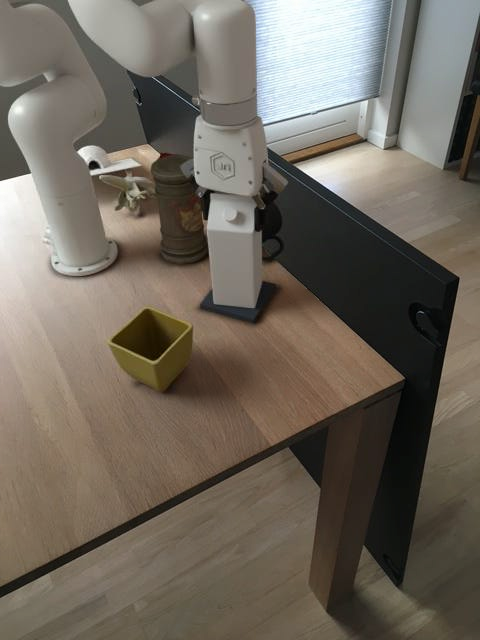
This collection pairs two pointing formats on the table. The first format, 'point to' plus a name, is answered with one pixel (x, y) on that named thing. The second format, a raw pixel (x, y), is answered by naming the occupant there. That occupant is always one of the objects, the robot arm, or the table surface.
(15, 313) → the table surface
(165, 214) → the container
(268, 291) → the slate mat
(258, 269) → the milk carton
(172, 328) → the flower pot
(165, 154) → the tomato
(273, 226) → the mug
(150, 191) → the pale green plant
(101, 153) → the igloo
